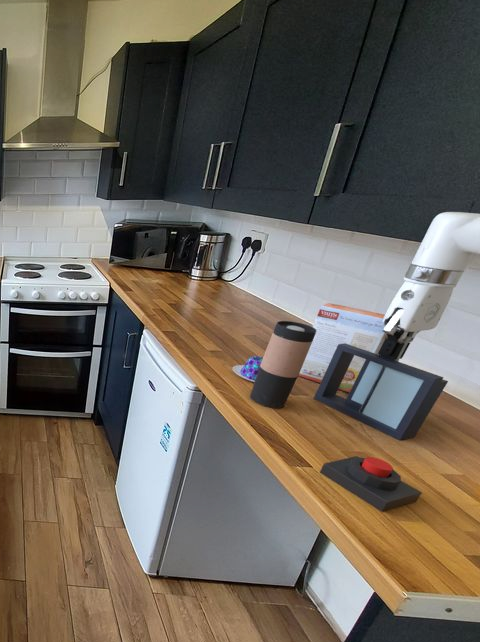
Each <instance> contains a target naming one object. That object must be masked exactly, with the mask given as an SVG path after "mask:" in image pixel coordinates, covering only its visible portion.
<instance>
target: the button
mask: <svg viewBox="0 0 480 642" xmlns="http://www.w3.org/2000/svg"><path fill="white" fill-rule="evenodd" d="M364 458H365V460H364V462H363V464H362V465H361V467H362V468H363V469H364V470H366V471H368V472H370V473H371V474H374V475H377V476H379V477H385V478H387V477H389V475H390V473H391V472H392V470H394V467H393V466H392V465H391V464H390V463H389V462H387V461H385V460H383V459H380V458H378V457H374V456H366V457H364Z"/></svg>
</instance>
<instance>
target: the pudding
mask: <svg viewBox="0 0 480 642" xmlns="http://www.w3.org/2000/svg"><path fill="white" fill-rule="evenodd" d="M263 357H264V356H258V355H255V356H250V357H249V358H248V359H247V360H246V362H245V364H237V365H234V366H233V367H232V371H233V372H234V373H235V374H236V375H237V376H239V377H241V378H242V379H245V380H247V381H250V382H253V383H254V382H255V379H256V376H257V373H258V370H259V367H260V364H261V362H262V359H263Z"/></svg>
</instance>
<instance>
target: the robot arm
mask: <svg viewBox="0 0 480 642" xmlns="http://www.w3.org/2000/svg"><path fill="white" fill-rule="evenodd" d="M474 254H478V255H480V213H475V212H474V213H473V212H462V211H445V212H441V213H439V214H437V215H436V216H435V217H434V218H433V219H432V221H431V223H430V225H429V227H428V229H427V230H426V233H425V235H424V238H423V239H422V241H421V243H420V245H419V246H418V248H417V250H416V253H415V255H414V257H413V259H412V261H411V263H410V264H409V267H408V269H407V271H406V273H405V275H404V277H403V280H404V282H403V283H402V285H401V286H400V288H399V289H398V291H397V292H396V294H395V296H394V298H393V299H392V301H391V303H390V305H389V306H388V308H387V310H386V312H385V314H384V315H385V316H384V319H383V324H384V325H386V327H385V328H384V329H383V332H385V333H387V334H386V336H385V340H384V342H383V344H382V346H381V348H380V350H379V352H378V355H380V356H383V357H386V358H389V359H392V360H395V359H397V357H398V355H399V354H400V352H401V350H402V348H403V346H404V344H405V343H402V342H403V341H404V340H405V337H406V336H407V337H411V338H410V340H409V342H408V344H407V346H406V348H405V350H404V352H403V353H402V355H401V357H400V359H399V360H401V359H403V358H404V355H405V354H406V352H407V350H408V348H409V347H410V344H411V343H412V342H413V341H414V340H415V338H416V336H417V335H418V334H419V333H421V332H422V331H423V332H425V331H431V330H433V329H435V328H437V326H438V324H439V322H440V321H441V319H442V317H443V314H444V313H445V310H446V308H447V306H448V304H449V302H450V300H451V297H452V294H453V291H454V288H456V287H457V285H458V283H459V281H460V279H461V278H462V276H463V275H464V273H465V270H466V268H467V267H468V266H469V263H470V261H471V260H472V258H473V256H474Z"/></svg>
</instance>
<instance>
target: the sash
mask: <svg viewBox="0 0 480 642" xmlns="http://www.w3.org/2000/svg"><path fill="white" fill-rule="evenodd" d="M410 338H411V337H407V336H406V337H405V340H404V341H403V342H402V343H405V344H404V346H403V348H402V350H401V352H400V354H399V355H398V357H397V359H395V361H398V362H400V360H401V359H400V357H401V355H402V353H403V352H404V350H405V348H406V346H407V344H408V342H409V340H410ZM409 343H410V342H409ZM382 366H383V365H380V364H377V363H375V362H372V361H369V360H365V362H364V364H363V366H362V368H361V370H360V372H359V374H358V376H357V378H356V380H355V382H354V385H353V387H352V389H351V391H350V393H348V395H347V397H346V398H345V399H346V401H347V402H349V403H351V404H354V405H356V406H358V407H360V408H361V407H362V405H363V403H364V401H365V399H366V397H367V395H368V393H369V391H370V389H371V387H372V386H373V384H374V382H375V380H376V378H377V376H378V374H379V372H380V370H381V368H382Z"/></svg>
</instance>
